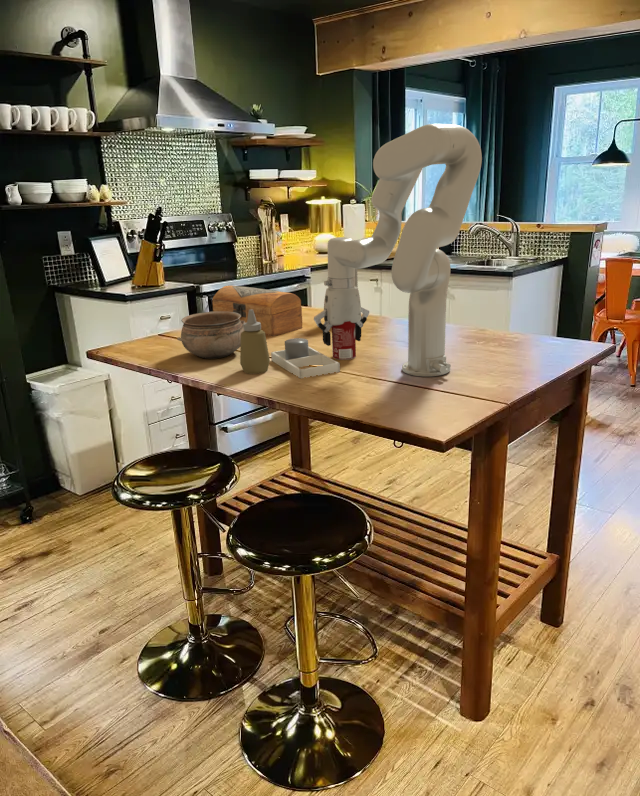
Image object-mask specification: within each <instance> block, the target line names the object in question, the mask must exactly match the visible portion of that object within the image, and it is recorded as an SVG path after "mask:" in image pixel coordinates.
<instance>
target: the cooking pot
mask: <svg viewBox="0 0 640 796" xmlns="http://www.w3.org/2000/svg"><path fill="white" fill-rule="evenodd" d="M240 317H241V315H240V314H238V313H235V312H227V311H215V312H213V311H206V312H205V311H204V312H198V313H193V314H190V315H187V316H184V317H182V318H181V323H183V325H182V327H181V332H180V337H177V341H179V342H181V343H182V346H183V347H184V349H186V351H188V352H189V353H190V354H192V355H194V356H196V357H199V358H202V359H206V360H207V359H209V360H211V359H212V360H215V359H221V358H225V357H229V356H231V355H232V354H233V353H234V352H236V351H237V350H239V348H240V346H241V333H242V332H243V331H244V327H243V324H244V323H245V321H240V320H239V318H240ZM242 323H243V324H242Z"/></svg>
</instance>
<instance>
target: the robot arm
mask: <svg viewBox="0 0 640 796" xmlns="http://www.w3.org/2000/svg"><path fill="white" fill-rule="evenodd" d="M482 160H483V157H482V148H481V146H480V142H479V140H478V138H477V137H476V136H475V134H474V133H472V131H470V130H469V129H468V128H467V127H464V126H461V125H458V124H451V123H428V124H425V125H422V126H420V127H417V128H415V129H413V130H410V131H409V132H406V133H405V134H403V135H401V136H399V137H396V138H394V139H393V140H391V141H388V142H386V143H385V144H383V145H382V146H381V147H380V148H379V149H378V150H377V151H376V153H375V155H374V158H373V160H372V161H373V162H372V166H373V172H374V173H375V174H374V175H376V177H377V178H379V180H378V182H377V184H376V186H375V188H374V191H373V193H372V195H371V204H372V206H373V207H374V208H375V209H376V210H377V211H378V213H379V214H378V216H379V217H378V221H377V224H376V226H375V228H374V231H373V233H372V235H371V236H368V237H364V238H360V239H355V240H354V239H353V238H351V237H347V236H346V237H344V236H343V237H341V236H340V237H338V236H337V237H333V238H330V239H329V240H328V242H327V280H324V281H323V284H324V286H325V287H327V288H326V290H325V294H324V302H323V310H322V311H321V312H319V313H318V314H317V315H315V316H314V317H313V320H314V322H315V325H316V326H317V327H318V328H319V329H320V330H321V331H322V343H323V344H324V345H326V346H327V347H329V346H332V345H331V344H332V332H330V330H331V329H332V325H333V326H337V325H341V324H343V323H344V322H343V321H346V320H351V322H352V323H355V338H356V342H357V341H358V342H360V341H362V339H361V337H362V328H363V327H364V324H365V323H366V322H367V320H368V317H369V314H370V310H368V309H366V308H364V307H362V305H361V297H360V292H359V288H358V287H355V269H357V270H358V269H359V270H360V269H365V268H368V267H373V266H375V265H380V264H382V263H384V262H385V261H386V260H387V259H388V258H389V257H390V255H391V253H392V252H393V250H394V248H395V246H396V244H397V241H398V240H399V242H398V244H397V248H396V251H395V255H394V257H393V260H392V265H391V279H392V282H393V284H394V286H395V287H396V288H397V289H398V290H399V291H400V292H403V293H407V294H409V301H408V313H407V314H408V321H407V322H408V326H407V329H408V331H407V332H408V333H407V334H408V336H407V339H408V340H407V346H408V347H407V348H408V349H407V356H408V357H407V361H406V362H404V363H402V367H401V370H402V372H404V373H405V374H407V375H410V376H415V377H423V378H424V377H425V378H426V377H439V376H443V375H446V374H448V373H449V372H450V371H451V363H448V362H447V356H446V327H447V326H446V322H447V321H446V320H447V318H446V317H447V296H448V290H449V289H448V288H449V282H450V277H451V261H450V259H449V257H448V255H447V254H446V253H445V252H444V251H443V250H441V249H439V248H441V247H445V246H448V245H450V244H452V243H453V242H454V241H455V240H456V239H457V237H458V235H459V233H460V231H461V227H462V224H463V221H464V219H465V215H466V212H467V210H468V207H469V204H470V200H471V197H472V194H473V192H474V189H475V187H476V183H477V182H478V178H479V175H480V172H481V168H482V162H483V161H482ZM434 165H445V169H444V171H443V172H442V174H441V176H440V178H439V180H438V181H437V183H436V186H435V190H434V194H433V196H432V199H431V201H430V204H429V206H428V207H424V208H420V209H418V210H416V211H414V212H412V214H411V215H410V216H409V217H408V218H407V220H406V222H405V224H404V226H403V229H402V223H403V222H402V221H403V219H402V218H403V217H402V214H403V210H404V208H405V205H406V204H407V202H408V200H409V197H410V195H411V193H412V191H413V189H414V187H415V185H416V183H417V181H418V179H419V177H420V175H421V172H422V170H423V169H424V168H427V167H429V166H434ZM322 319H323V320H324V322H322V321H321V320H322Z"/></svg>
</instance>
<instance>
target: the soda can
mask: <svg viewBox="0 0 640 796" xmlns="http://www.w3.org/2000/svg"><path fill="white" fill-rule="evenodd" d="M343 322H344V323H343V324H341V325H337V326H333V325H332V327H331V344H332V345H331V347H332V349H331V350H332V351H331V352H332V359H334V358H335V360H337V361H338V360H339V361H346V360H347V361H348V360H353V359H355V358H356V357H357V350H356V348H357V345H356V343H357V340H356V338H355V323H352V322H351V320H346V321H343Z"/></svg>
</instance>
